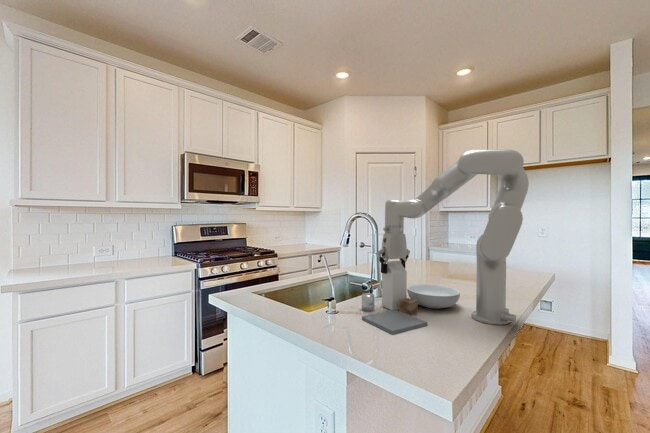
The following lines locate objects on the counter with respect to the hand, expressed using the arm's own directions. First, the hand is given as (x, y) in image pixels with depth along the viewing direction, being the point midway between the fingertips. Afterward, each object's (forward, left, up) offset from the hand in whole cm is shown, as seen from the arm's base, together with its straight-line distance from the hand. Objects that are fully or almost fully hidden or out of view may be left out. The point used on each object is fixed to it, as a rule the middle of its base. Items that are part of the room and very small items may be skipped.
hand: (393, 272), depth 128 cm
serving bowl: (-6, -16, -15) cm, 23 cm away
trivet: (-13, +12, -14) cm, 23 cm away
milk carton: (0, 0, -15) cm, 15 cm away
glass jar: (+3, +11, -15) cm, 18 cm away
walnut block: (-8, 0, -15) cm, 17 cm away
